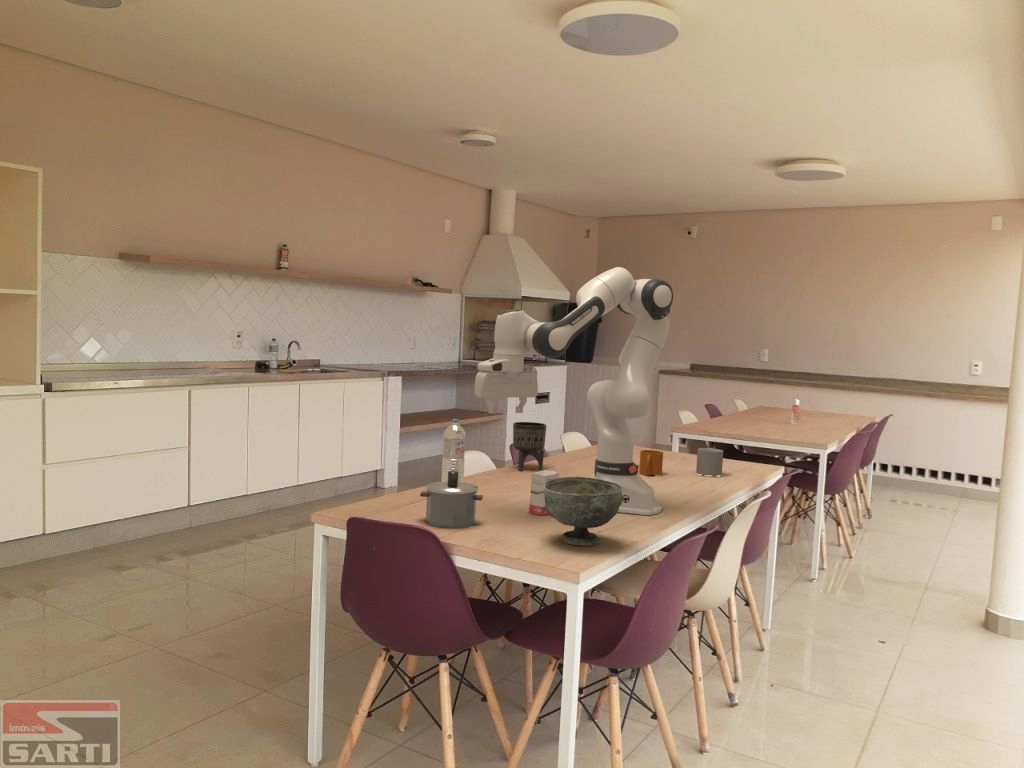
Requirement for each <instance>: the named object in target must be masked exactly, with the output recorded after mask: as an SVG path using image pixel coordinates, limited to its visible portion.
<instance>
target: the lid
mask: <svg viewBox="0 0 1024 768" xmlns="http://www.w3.org/2000/svg"><path fill="white" fill-rule="evenodd" d="M427 490H428V491H430V492H434V493H439V494H448V495H465V494H472V493H476V494H477V493H478V492H479V486H478V485H476V484H473V483H469V482H465V481H463V482H458V472H457V471H448V482H441V481H435V482H429V483H427V484H426V491H427Z"/></svg>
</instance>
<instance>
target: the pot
mask: <svg viewBox="0 0 1024 768" xmlns="http://www.w3.org/2000/svg"><path fill="white" fill-rule="evenodd" d="M419 496H420V497H423V498H426V506H425V507H426V509H425V514H426V515H425V522H426V523H427V524H429V525H430V526H432V527H433V526H434V527H438V528H445V529H446V528H447V529H458V528H461V529H462V528H468V527H472V526H474V524H476V510H477V509H476V508H477V507H476V506H477V501H483V499H484V495H483V494H477V492H476V493H472V494H465V495H448V494H439V493H434V492H430V491H428V490H427V489H426V490H424V491H421V492H420V494H419Z"/></svg>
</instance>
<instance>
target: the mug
mask: <svg viewBox="0 0 1024 768" xmlns="http://www.w3.org/2000/svg"><path fill="white" fill-rule="evenodd" d="M639 454H640V455H639V468H638V474H639V473H640V474H639V475H642V474H644V475H643V476H647V475H648V476H647V477H650V476H649V475H661V474H663V464H664V463H663V462H664V452H663V451H660V450H653V449H641V450H640V453H639ZM661 476H662V475H661Z"/></svg>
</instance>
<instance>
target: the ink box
mask: <svg viewBox="0 0 1024 768" xmlns="http://www.w3.org/2000/svg"><path fill="white" fill-rule="evenodd" d="M556 478H560V472H558V471H553V470H549V469H548V470H547V469H545V470H542V471H541V470H538V471H535V472H533V473H532V474H531V483H530V484H531V485H530V495H529V509H528V513H529V514H534V515H539V516H545V515H547V514H548V512H547V511H546V509H545V497H544V484H545V483H546V482H547V481H549V480H552V479H556ZM548 515H549V514H548Z"/></svg>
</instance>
